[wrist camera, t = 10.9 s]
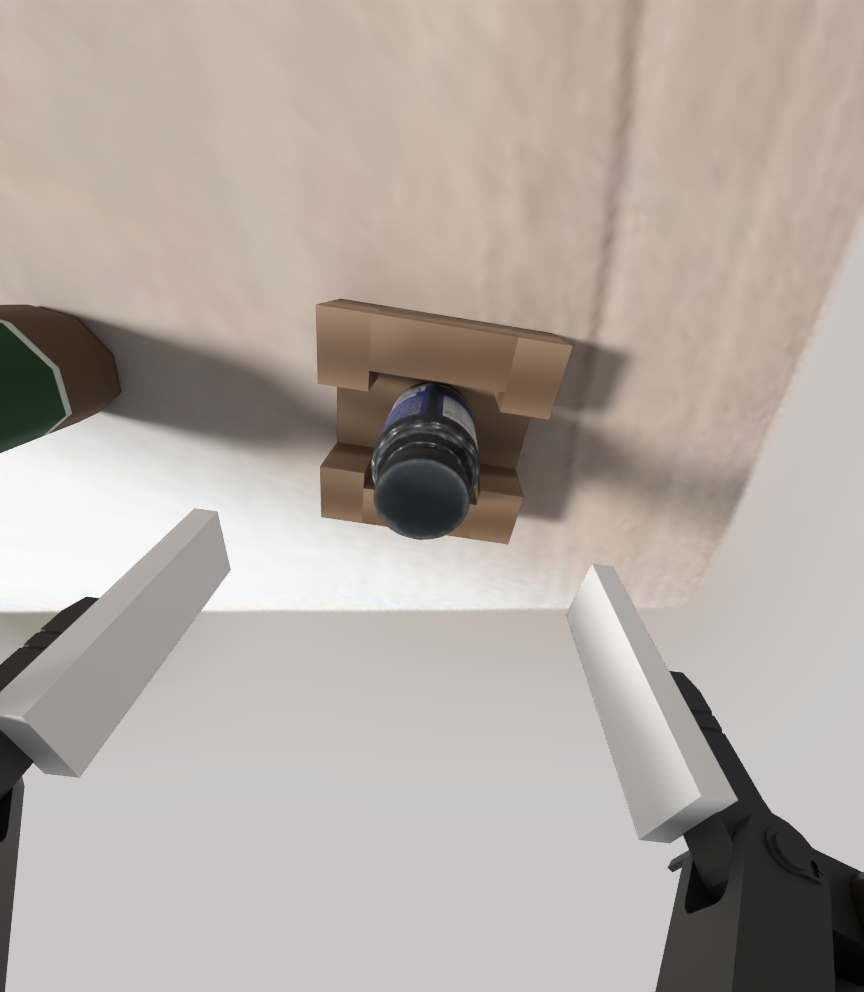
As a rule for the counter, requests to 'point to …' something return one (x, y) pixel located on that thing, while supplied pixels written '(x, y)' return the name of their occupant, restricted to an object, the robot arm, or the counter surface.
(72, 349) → the beer bottle
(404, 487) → the pill bottle
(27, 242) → the counter surface
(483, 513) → the socket
